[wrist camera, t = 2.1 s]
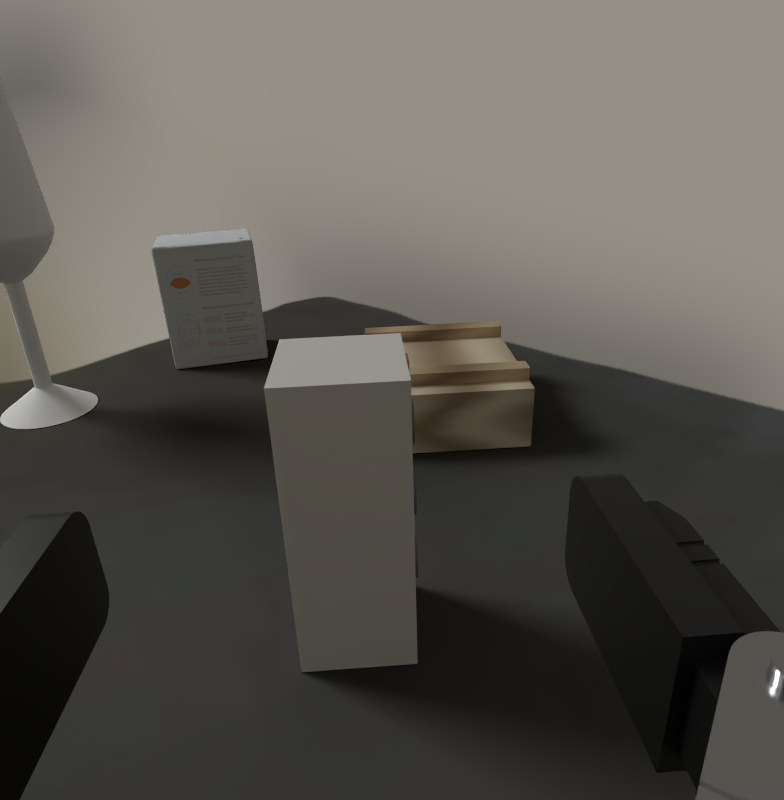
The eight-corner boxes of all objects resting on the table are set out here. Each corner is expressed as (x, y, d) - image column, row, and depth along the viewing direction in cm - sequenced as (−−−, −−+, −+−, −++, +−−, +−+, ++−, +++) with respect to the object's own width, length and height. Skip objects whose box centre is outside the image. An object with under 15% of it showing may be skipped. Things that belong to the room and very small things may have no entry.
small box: (264, 339, 60) (250, 227, 55) (269, 359, 55) (253, 238, 50) (178, 349, 58) (156, 234, 54) (174, 370, 53) (149, 246, 49)
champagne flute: (67, 384, 51) (-26, 50, 41) (116, 401, 48) (28, 41, 38) (-19, 416, 46) (-148, 45, 36) (30, 437, 43) (-98, 34, 33)
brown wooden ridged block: (372, 455, 39) (368, 385, 37) (367, 380, 50) (364, 322, 48) (530, 446, 39) (535, 376, 37) (491, 373, 50) (493, 316, 48)
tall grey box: (301, 672, 24) (263, 388, 19) (308, 591, 28) (279, 339, 23) (422, 663, 24) (417, 380, 19) (412, 583, 28) (405, 332, 23)
